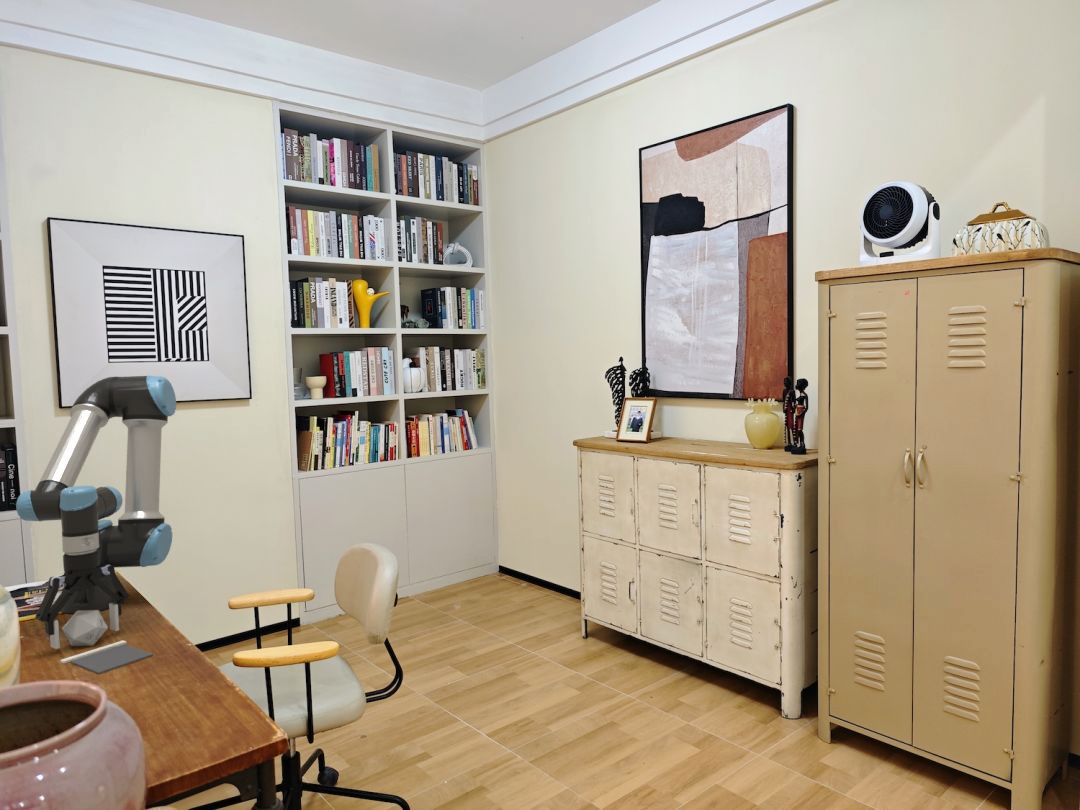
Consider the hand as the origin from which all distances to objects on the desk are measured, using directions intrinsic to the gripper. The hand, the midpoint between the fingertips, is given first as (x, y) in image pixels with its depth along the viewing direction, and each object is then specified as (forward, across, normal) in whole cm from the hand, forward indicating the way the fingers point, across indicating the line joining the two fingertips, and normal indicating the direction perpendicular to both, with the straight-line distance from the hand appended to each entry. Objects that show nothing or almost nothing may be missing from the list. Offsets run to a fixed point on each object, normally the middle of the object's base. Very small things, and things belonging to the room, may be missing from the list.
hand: (85, 638), depth 180 cm
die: (+1, 0, 0) cm, 1 cm away
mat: (+1, -2, -15) cm, 15 cm away
